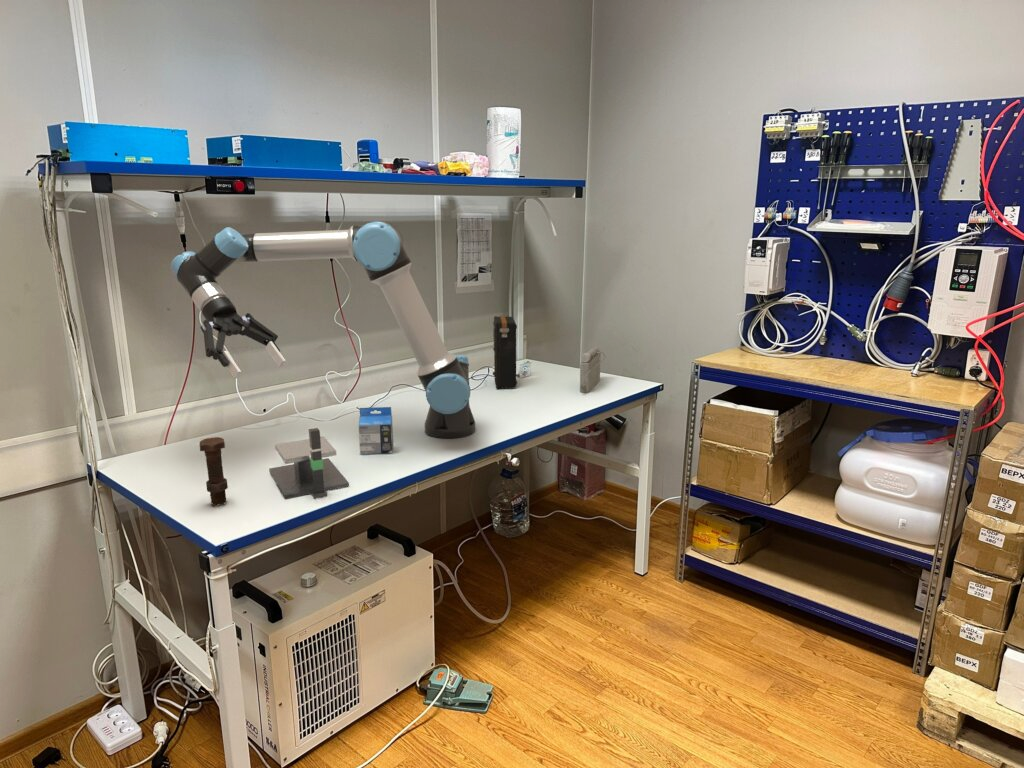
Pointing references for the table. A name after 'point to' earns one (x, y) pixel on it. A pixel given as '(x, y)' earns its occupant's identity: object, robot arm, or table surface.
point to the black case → (504, 352)
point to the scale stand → (309, 473)
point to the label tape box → (375, 430)
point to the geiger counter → (590, 369)
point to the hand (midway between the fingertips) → (260, 369)
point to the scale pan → (302, 450)
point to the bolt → (215, 469)
